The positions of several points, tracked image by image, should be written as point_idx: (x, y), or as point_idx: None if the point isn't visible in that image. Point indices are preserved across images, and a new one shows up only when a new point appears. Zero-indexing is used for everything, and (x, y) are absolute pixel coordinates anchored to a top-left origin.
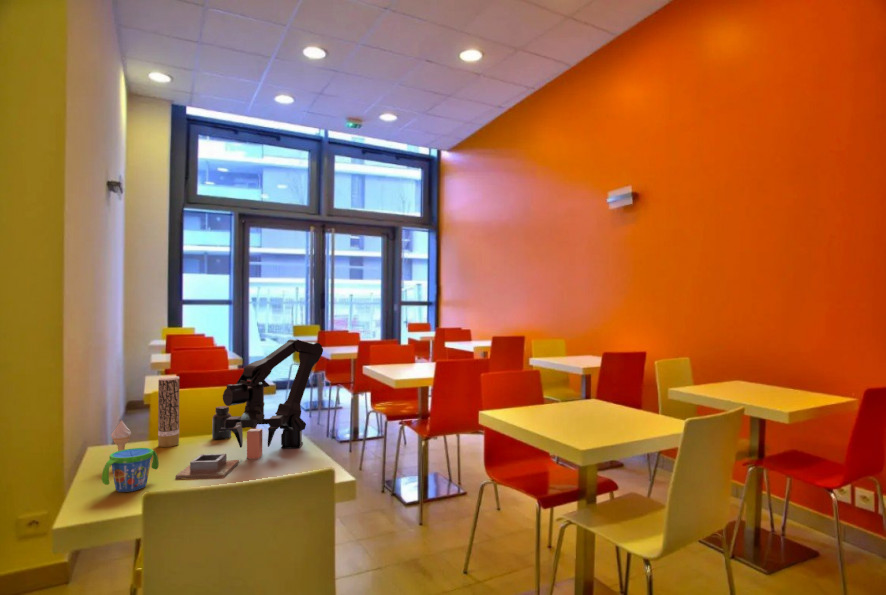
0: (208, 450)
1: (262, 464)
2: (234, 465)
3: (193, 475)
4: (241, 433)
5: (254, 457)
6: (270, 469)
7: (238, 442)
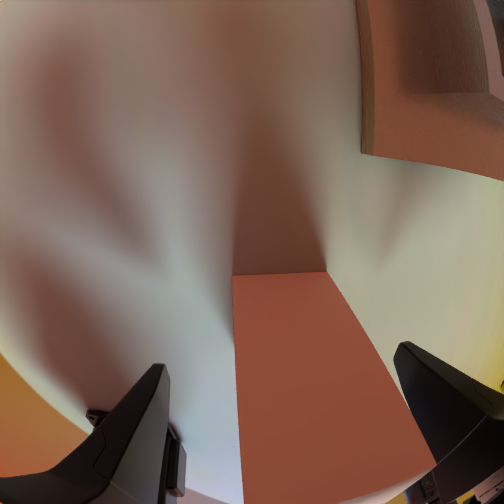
0: (471, 365)
1: (143, 103)
2: (367, 43)
3: None
4: (441, 444)
5: (270, 278)
6: (66, 13)
7: (441, 361)
